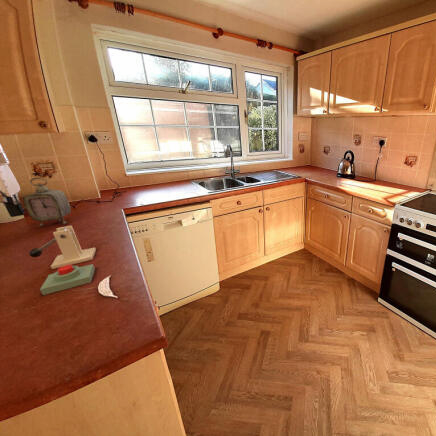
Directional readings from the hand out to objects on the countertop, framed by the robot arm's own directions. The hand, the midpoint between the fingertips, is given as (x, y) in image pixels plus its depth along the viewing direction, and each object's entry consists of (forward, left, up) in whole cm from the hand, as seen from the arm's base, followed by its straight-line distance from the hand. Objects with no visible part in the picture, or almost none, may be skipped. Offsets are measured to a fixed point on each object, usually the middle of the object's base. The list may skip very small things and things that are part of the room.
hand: (18, 215), depth 82 cm
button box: (+11, -17, -21) cm, 29 cm away
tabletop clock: (-8, +54, -21) cm, 58 cm away
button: (+11, -17, -17) cm, 27 cm away
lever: (+5, +1, -14) cm, 15 cm away
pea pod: (+22, -29, -21) cm, 42 cm away
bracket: (+9, +1, -21) cm, 23 cm away
